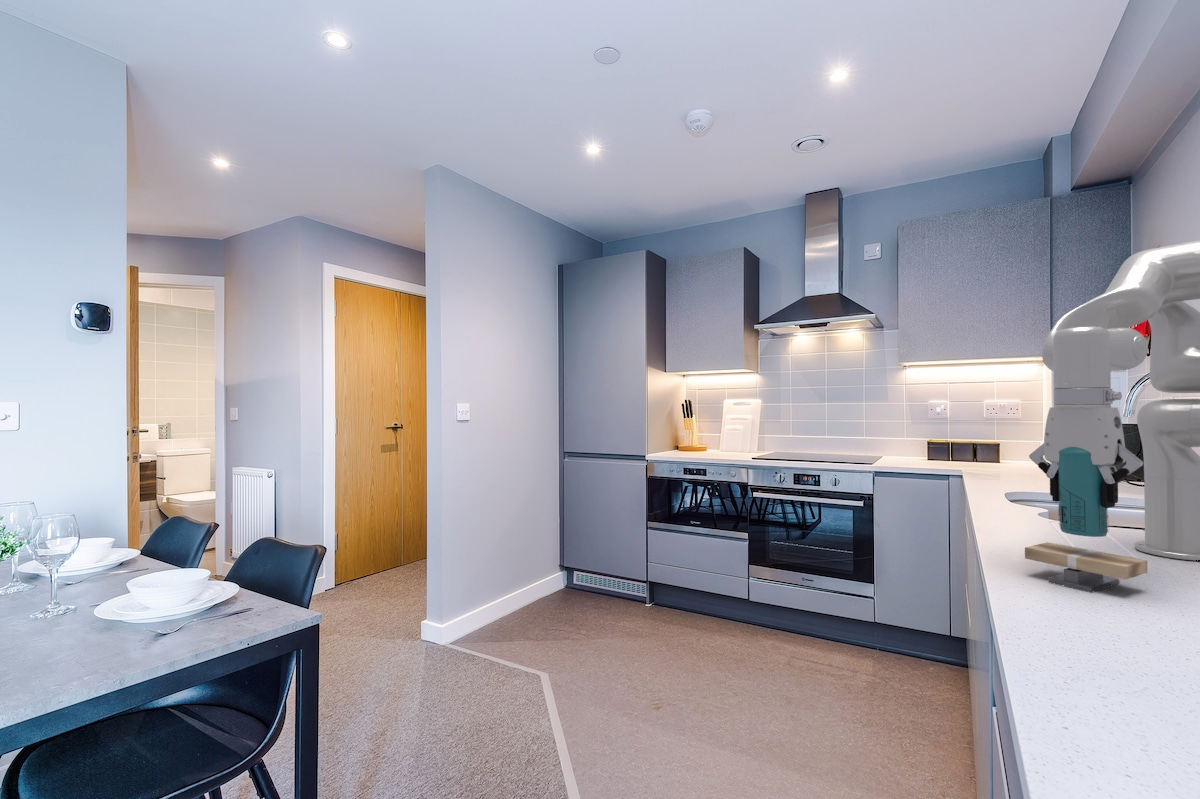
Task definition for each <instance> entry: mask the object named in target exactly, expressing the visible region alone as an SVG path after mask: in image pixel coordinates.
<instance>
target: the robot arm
mask: <svg viewBox="0 0 1200 799" xmlns="http://www.w3.org/2000/svg"><path fill="white" fill-rule="evenodd" d="M1193 300H1200V239H1199V240H1193V241H1187V242H1181V243H1176V244H1171V245H1170V244H1169V245H1165V246H1160V247H1159V246H1158V247H1154V248H1149V249H1145V250H1141V251H1138V252H1136V253H1134V254H1132V255H1130V256H1129V257H1128V258H1126V260H1124V262H1123V263H1122V264H1121V266H1120V267H1119V269H1118V271H1117V272H1116V274H1115V276H1114V277H1113V279H1112V280H1111V282H1110V284H1109V285H1108V287H1106V290H1105V291H1104V292H1103V293H1102V294H1100V295H1098V296H1096V297H1094V298H1092V299H1090V300H1088V301H1086V302H1085V303H1083V304H1081V305H1079V306H1078V307H1076V308H1074V309H1072V310H1070V311H1069V312H1067V313H1065V314H1064V315H1063V316H1062V317H1060V318H1059V319H1058V320H1057V321H1056V322H1055V324H1054V325H1053V327H1052V328H1051V330H1050V331H1049V333H1048V335H1047V336H1046V338H1045V340H1044V343H1043V346H1042V350H1041V358H1042V362H1043V363H1044V365H1045V367H1046V368H1048V369H1049V370H1050V371H1052V372H1053V373H1052V374H1053V407H1049V409H1048V413H1047V416H1046V421H1045V427H1044V428H1045V429H1044V436H1043V440H1044V441H1043V444H1041V445H1040V446H1038V447H1037V448H1036V449H1035V450H1034V451H1032V452H1031V453H1030V454H1029V455H1028V458H1029V459H1030V460H1031V461H1032V462H1033V463H1034V464H1036V465H1037V466H1038V468H1039V469H1040V470H1041V472H1043V473H1044V474H1045V475H1046V478H1048V479H1049V495H1050V496H1052V498H1051V499H1052V502H1055V503H1057V502H1059V483H1058V482H1059V467H1058V463H1059V451H1060V450H1062V449H1064V448H1068V447H1078V448H1082V449H1084V450H1086V451H1088V452H1090V453H1091V460H1092V464H1093V465H1095V466H1098V468H1099V470H1100V472H1101V474H1102V476H1103V478H1104V483H1102V484H1101V506H1102V507H1103V508H1107V509H1109V508H1113V507H1115V506H1116V504H1118V502H1119V483H1121V482H1122V481H1123V480H1125V479H1126V478H1127V477H1129V476H1131V475H1132V473H1133V472H1136V471H1137V470H1138V469H1139V468H1141V467H1143V478H1144V479H1143V483H1144V484H1143V486H1144V487H1143V488H1144V540H1140V541H1136V542H1135V543H1134V548H1135V549H1136V550H1137V551H1140V552H1143V553H1146V554H1150V555H1154V556H1158V557H1165V558H1171V559H1175V560H1177V559H1178V560H1185V561H1187V560H1188V561H1195V562H1196V560H1197V562H1199V561H1198V560H1200V455H1199V454H1198V453H1197V452H1196V451H1195V450H1194V449H1193V448H1200V398H1172V399H1171V398H1168V399H1167V398H1166V399H1158V400H1153V401H1150V402H1148V403H1146V404H1145V403H1144V405H1142V406H1141V407H1140V408H1139V410H1138V412H1137V416H1136V424H1137V428H1138V432H1139V437H1140V442H1141V446H1142V454H1143V455H1142V456H1143V460H1142V459H1140V458H1139V457H1138V456H1136V455H1135V454H1134V453H1133V452H1132V451H1131V450H1129V449H1128V448H1126V441H1125V433H1124V428H1123V422H1122V418H1121V414H1120V411H1119V407H1112V405H1113V402H1115V401H1121V400H1122V397H1123V396H1122V395H1123V394H1122V392H1121V391H1114V390H1113V388H1111V382H1112V381H1111V380H1112V379H1111V372H1114V371H1115V372H1116V371H1127V370H1131V369H1134V368H1136V367H1138V366H1140V365H1141V364H1142V363H1143V362H1144V360H1146V357H1147V355H1148V352H1149V344H1148V341H1147V339H1146V338H1145V336H1144V335H1143V334H1142V333H1141V332H1140V331H1138V330H1136V329H1133V328H1131V327H1133V326H1136V325H1139V324H1142V323H1144V322H1147V321H1148V323H1149V326H1150V332H1151V333H1150V334H1151V336H1150V337H1151V338H1150V340H1151V341H1150V357H1149V358H1150V360H1149V378H1150V379H1149V380H1150V384H1151V385H1152V388H1154V389H1155V390H1156V391H1159V392H1161V393H1168V394H1169V393H1171V394H1200V311H1199V310H1198V309H1196V308H1195V307H1193V306H1191V304H1189V303H1187V302H1185V301H1193ZM1124 463H1126V464H1124ZM1121 465H1124V466H1122V467H1121V468H1119V469H1117V468H1116V466H1121ZM1057 477H1058V478H1057ZM1057 479H1058V480H1057Z"/></svg>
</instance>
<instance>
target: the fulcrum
mask: <svg viewBox="0 0 1200 799" xmlns="http://www.w3.org/2000/svg"><path fill="white" fill-rule="evenodd" d="M1049 582H1051V583H1050V584H1053V583H1055V585H1058V584H1059V585H1058V586H1062V585H1064V586H1063V587H1066V586H1068V588H1071V587H1073V588H1072V589H1075V588H1076V590H1079V589H1080V590H1079V591H1083V590H1085V591H1084V592H1088V591H1089V593H1094V592H1097V591H1100V590H1103V589H1106V588H1109V587H1108V586H1110V587H1112V586H1111V585H1113V586H1115V585H1114V584H1116V585H1118V584H1117V583H1119V584H1120V578H1116V577H1111V576H1106V575H1101V574H1096V573H1092V572H1087V571H1082V570H1077V569H1071V568H1068V567H1065V568H1063V573H1059V574H1057V575H1054V576H1050V577H1048V583H1049ZM1105 587H1106V588H1105ZM1102 588H1103V589H1102ZM1099 589H1100V590H1099ZM1093 591H1094V592H1093Z"/></svg>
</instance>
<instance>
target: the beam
mask: <svg viewBox="0 0 1200 799" xmlns="http://www.w3.org/2000/svg"><path fill="white" fill-rule="evenodd" d="M1024 559H1025V560H1029V561H1030V560H1031V561H1034V562H1040V563H1044V564H1050V565H1053V566H1059V567H1064V568H1071V569H1077V570H1082V571H1087V572H1092V573H1096V574H1101V575H1104V576H1109V577H1114V578H1119V580H1121V579H1122V580H1129V579H1132V578H1135V577H1138V576H1141V575H1144V574H1147V573H1148V559H1141V558H1136V557H1133V556H1127V555H1120V554H1115V553H1109V552H1105V551H1104V552H1103V551H1099V550H1093V549H1087V548H1081V547H1076V546H1070V545H1064V544H1059V543H1054V542H1049V541H1046V542H1044V543H1038V544H1035V545H1030V546H1026V547H1024Z"/></svg>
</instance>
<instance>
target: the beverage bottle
mask: <svg viewBox="0 0 1200 799" xmlns="http://www.w3.org/2000/svg"><path fill="white" fill-rule="evenodd" d="M1058 467H1059V482H1058V483H1059V501H1058V502H1059V503H1058V505H1057V507H1058V516H1059V523H1058V526H1059V527H1058V528H1060V531H1061V532H1063V533H1064V534H1069V535H1073V536H1082V537H1091V538H1100V537H1101V538H1103V537H1106V536H1107V533H1109V514H1108V508H1103V507H1102V506H1101V484H1102V483H1104V478H1103V476H1102V474H1101V472H1100V470H1099V468H1098V466H1095V465H1093V464H1092V460H1091V453H1090V452H1088V451H1086V450H1084V449H1082V448H1078V447H1068V448H1064V449H1062V450H1060V451H1059V463H1058ZM1057 478H1058V477H1057ZM1057 480H1058V479H1057Z"/></svg>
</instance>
